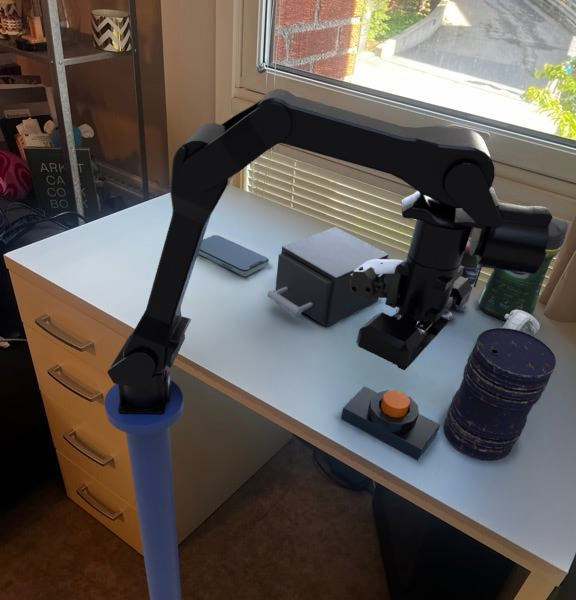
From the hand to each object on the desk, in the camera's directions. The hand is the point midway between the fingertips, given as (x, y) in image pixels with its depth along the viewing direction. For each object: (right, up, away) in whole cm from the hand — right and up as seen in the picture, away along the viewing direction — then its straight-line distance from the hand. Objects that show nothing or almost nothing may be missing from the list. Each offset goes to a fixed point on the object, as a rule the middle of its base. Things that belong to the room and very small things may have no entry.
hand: (402, 367), depth 71 cm
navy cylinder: (+12, -9, +7) cm, 17 cm away
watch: (+19, 0, +19) cm, 27 cm away
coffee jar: (+26, +11, +33) cm, 43 cm away
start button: (0, -5, +4) cm, 7 cm away
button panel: (-1, -8, +7) cm, 11 cm away
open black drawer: (-10, +13, +28) cm, 32 cm away
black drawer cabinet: (-7, +14, +31) cm, 34 cm away
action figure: (+15, +11, +31) cm, 36 cm away
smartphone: (-26, +22, +38) cm, 52 cm away
